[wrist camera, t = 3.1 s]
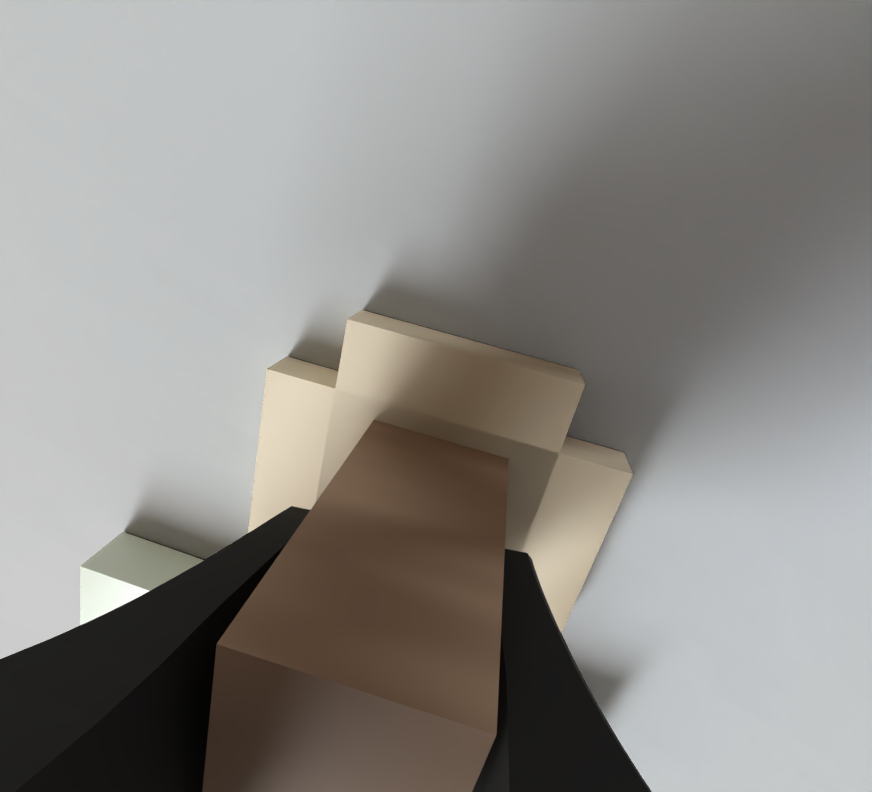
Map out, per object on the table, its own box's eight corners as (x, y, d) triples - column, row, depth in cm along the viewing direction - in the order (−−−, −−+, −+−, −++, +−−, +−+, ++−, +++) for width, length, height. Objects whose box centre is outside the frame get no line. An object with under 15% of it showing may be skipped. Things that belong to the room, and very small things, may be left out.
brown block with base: (650, 389, 11) (858, 673, 4) (535, 655, 14) (549, 1063, 7) (295, 291, 11) (-24, 405, 5) (259, 568, 14) (35, 875, 8)
